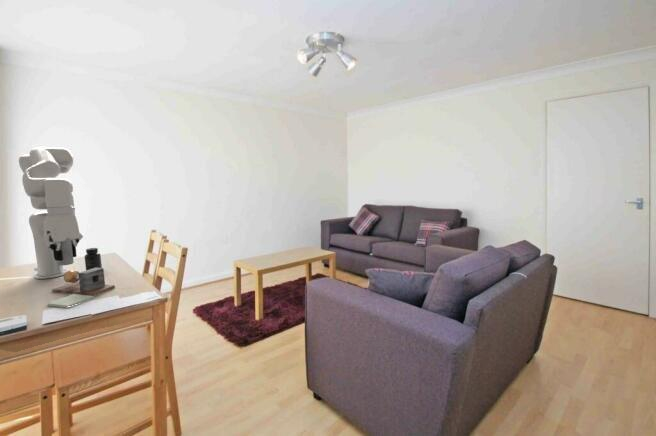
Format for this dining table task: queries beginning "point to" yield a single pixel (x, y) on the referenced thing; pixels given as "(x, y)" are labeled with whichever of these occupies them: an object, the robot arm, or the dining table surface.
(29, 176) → the robot arm
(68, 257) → the grey open cylinder
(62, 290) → the shaft stand
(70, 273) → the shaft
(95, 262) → the supplement bottle
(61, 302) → the tile
